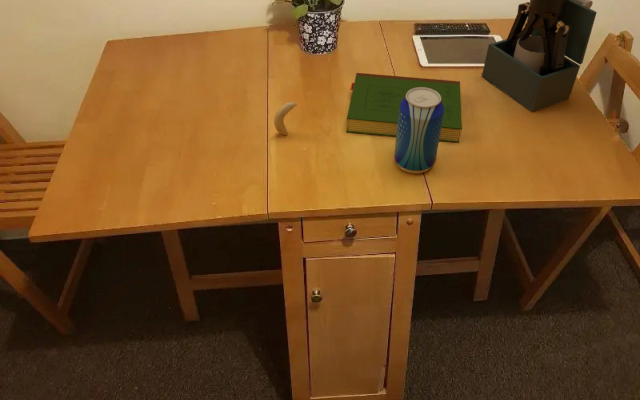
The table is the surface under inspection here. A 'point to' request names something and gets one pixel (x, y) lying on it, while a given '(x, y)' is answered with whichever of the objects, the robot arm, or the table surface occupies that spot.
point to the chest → (527, 78)
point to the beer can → (418, 130)
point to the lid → (576, 27)
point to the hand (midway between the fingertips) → (525, 81)
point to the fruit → (280, 117)
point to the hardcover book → (398, 104)
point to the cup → (530, 53)
